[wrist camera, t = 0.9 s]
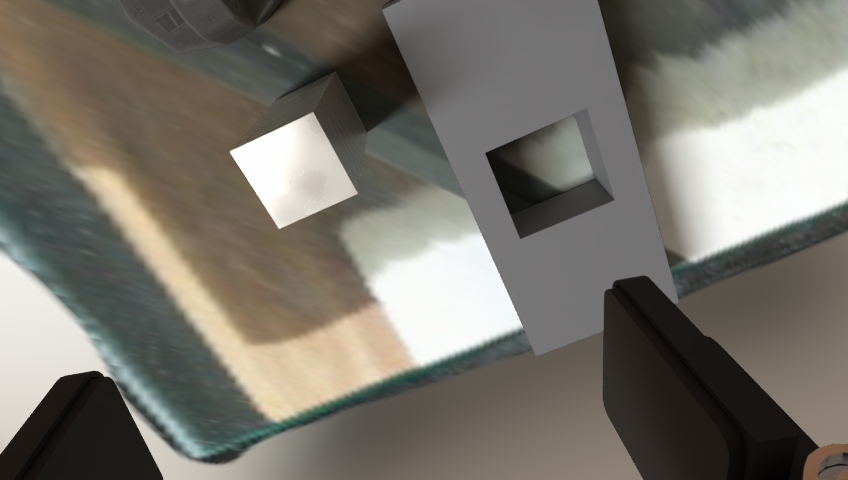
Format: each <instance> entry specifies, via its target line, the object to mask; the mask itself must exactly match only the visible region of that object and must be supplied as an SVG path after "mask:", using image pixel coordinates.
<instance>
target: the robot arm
mask: <svg viewBox="0 0 848 480" xmlns="http://www.w3.org/2000/svg"><path fill="white" fill-rule="evenodd" d="M603 343H604V344H603V401H604V406H605V410H606V412H607V415H608V417H609V419H610V420H611V422H612V424H613V426H614V428H615V429H616V431H617V433H618V435H619V436H620V438H621V440H622V442H623V444H624V445H625V447H626V449H627V451H628V453H629V454H630V456H631V458H632V460H633V462H634V463H635V465H636V467H637V469H638V470H639V472H640V474H641V476H642V478H643V480H848V444H831V445H827V446H823V447H820V448H819V447H818V446H817V445H816V444H815V443H814V442H813V440H811V438H810V437H809V436H808V435H806V433H805V432H804V431H803V430H802V429H801V428H800V427H799V426H798V425H797V424H796V423H795V422H794V421H793V420H792V419H791V418H790V417H789V416H788V415H787V414H786V413H785V412H784V411H783V410H782V409H781V407H780V406H779V405H777V403H776V402H775V401H774V400H773V399H772V398H771V397H770V396H769V395H768V394H767V393H766V392H765V391H764V390H763V389H762V388H761V387H760V386H759V385H758V384H757V383H756V382H755V381H754V380H753V379H752V378H751V377H750V376H749V375H748V374H747V372H745V371H744V369H742V367H741V366H740V365H739V364H738V363H737V362H736V361H735V360H734V359H733V358H732V357H731V356H730V355H729V354H728V353H727V352H726V351H725V350H724V349H723V348H722V347H721V346H720V345H719V344H718V343H717V342H716V341H715V340H713V339H712V338H711V337H707V336H704V335H703V334H702V333H701V332H700V331H699V329H698V328H697V327H696V326H695V325H694V324H693V323H692V322H691V321H690V320H689V319H688V318H687V317H686V316H685V315H684V314H683V313H682V312H681V311H680V310H679V309H678V308H677V307H676V305H675V304H674V303H673V302H672V301H671V300H670V299H669V298H668V297H667V296H666V295H665V294H664V293H663V292H662V291H661V290H660V289H659V287H658V286H657V285H656V284H655V283H654V282H653V281H652V280H651V279H650V278H649V277H647V276H644V275H643V276H637V277H631V278H625V279H620V280H616V281H614V283H613V285H612V289H607V290H606V291H605V293H604V336H603ZM0 480H163V477H162V474H161V472H160V470H159V468H158V467H157V464H156V462H155V461H154V459H153V457H152V455H151V453H150V451H149V449H148V447H147V445H146V443H145V441H144V439H143V437H142V435H141V433H140V431H139V429H138V428H137V425H136V423H135V421H134V420H133V418H132V416H131V414H130V412H129V410H128V408H127V406H126V404H125V402H124V400H123V398H122V396H121V394H120V392H119V390H118V388H117V386H116V384H115V383H114V381H113V380H112V379H111V378H110V377H104V376H103V374H101V373H100V372H98V371H90V372H84V373H79V374H73V375H67V376H64V377H61V378H60V379H59V380H58V381H57V382H56V383H55V384H54V385H53V387H52V388H51V389H50V391H49V392H48V393H47V394H46V396H45V397H44V398H43V400H42V401H41V402H40V404H39V405H38V406H37V407H36V409H35V410H34V411H33V413H32V414H31V415H30V417H29V418H28V419H27V421H26V422H25V423H24V424H23V426H22V427H21V428H20V430H19V431H18V432H17V433H16V435H15V436H14V438H13V439H12V440H11V441H10V443H9V444H8V445H7V447H6V448H5V449H4V450H3V452H2V453H1V454H0Z"/></svg>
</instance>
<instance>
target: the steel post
mask: <svg viewBox="0 0 848 480" xmlns="http://www.w3.org/2000/svg"><path fill="white" fill-rule="evenodd" d="M366 137H367V131H366V129H365V127H364V125H363V123H362V121H361V119H360V117H359V115H358V113H357V111H356V109H355V107H354V105H353V103H352V101H351V100H350V98H349V96H348V94H347V92H346V90H345V88H344V86H343V84H342V82H341V80H340V78H339V76H338V74H337V72H336V71H335V72H333V73H330V74H328V75H326V76H324V77H322V78H320V79H318V80H316V81H314V82H312V83H310V84H308V85H306V86H304V87H302V88H299V89H297V90H295V91H293V92H291V93H289V94H287V95H285V96H283V97H281V98H279V99H277V100H275V101H274V102H273V104H272V105H271V106H270V107H269V108H268V109H267V110H266V111H265V113H264V114H263V115H262V116H261V117H260V118H259V119H258V121H257V122H256V123H255V124H254V125H253V126H252V127H251V128H250V130H249V131H248V132H247V133H246V134H245V135H244V136H243V137H242V139H241V140H240V141H239V142H238V143H237V144H236V145H235V147H234V148H233V149H232V150H231V151H230V153H231V154H232V156H233V157H234V159H235V160H236V162H237V164H238V165H239V167H240V168H241V170H242V171H243V173H244V174H245V176H246V178H247V179H248V181H249V182H250V184H251V185H252V187H253V188H254V190H255V192H256V193H257V195H258V196H259V198H260V199H261V201H262V202H263V204H264V206H265V207H266V209H267V210H268V212H269V213H270V215H271V216H272V218H273V220H274V221H275V223H276V224H277V226H278V227H279V229H280V228H282V227H284V226H286V225H289V224H291V223H293V222H295V221H298V220H300V219H302V218H304V217H307V216H309V215H311V214H313V213H316V212H318V211H320V210H322V209H325V208H327V207H329V206H331V205H334V204H336V203H338V202H340V201H343V200H345V199H347V198H349V197H352V196H354V195H356V194H358V189H359V183H360V176H361V170H362V163H363V157H364V150H365V144H366Z"/></svg>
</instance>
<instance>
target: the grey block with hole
mask: <svg viewBox="0 0 848 480" xmlns="http://www.w3.org/2000/svg"><path fill="white" fill-rule="evenodd" d="M382 11H383V14H384V16H385V18H386V20H387V23H388V25H389V27H390V29H391V32H392V34H393V36H394V38H395V41H396V43H397V45H398V47H399V50H400V52H401V54H402V56H403V59H404V61H405V63H406V65H407V68H408V70H409V72H410V74H411V76H412V79H413V81H414V83H415V85H416V88H417V90H418V92H419V94H420V97H421V99H422V101H423V103H424V106H425V108H426V110H427V112H428V115H429V117H430V119H431V121H432V124H433V126H434V128H435V130H436V133H437V135H438V137H439V139H440V142H441V144H442V146H443V148H444V150H445V153H446V155H447V157H448V159H449V162H450V164H451V166H452V168H453V171H454V173H455V175H456V177H457V180H458V182H459V184H460V186H461V189H462V191H463V193H464V195H465V198H466V200H467V202H468V204H469V207H470V209H471V211H472V213H473V216H474V218H475V220H476V222H477V225H478V227H479V229H480V231H481V233H482V236H483V238H484V240H485V242H486V245H487V247H488V249H489V251H490V254H491V256H492V258H493V260H494V263H495V265H496V267H497V269H498V272H499V274H500V276H501V278H502V281H503V283H504V285H505V287H506V290H507V292H508V294H509V296H510V299H511V301H512V303H513V305H514V307H515V310H516V312H517V314H518V316H519V319H520V321H521V323H522V325H523V328H524V330H525V332H526V334H527V337H528V339H529V341H530V343H531V346H532V348H533V350H534V352H535V355H536V356H538V355H541V354H543V353H546V352H548V351H551V350H554V349H557V348H559V347H562V346H564V345H567V344H570V343H572V342H575V341H578V340H580V339H583V338H586V337H588V336H591V335H594V334H596V333H599V332H602V331H604V293H605V291H606V290H607V289H612V285H613V283H614V281H616V280H620V279H625V278H631V277H637V276H643V275H644V276H647V277H649V278H650V279H651V280H652V281H653V282H654V283H655V284H656V285H657V286H658V287H659V289H660V290H661V291H662V292H663V293H664V294H665V295H666V296H667V297H668V298H669V299H670V300H671V301H672V302H673V303H674V304H676V303H678V302H679V301H678V297H677V294H676V290H675V286H674V282H673V279H672V275H671V271H670V268H669V264H668V260H667V256H666V253H665V249H664V245H663V242H662V238H661V234H660V230H659V227H658V223H657V219H656V215H655V212H654V208H653V204H652V201H651V197H650V193H649V189H648V186H647V182H646V178H645V175H644V171H643V167H642V163H641V160H640V156H639V152H638V149H637V145H636V141H635V137H634V134H633V130H632V126H631V123H630V119H629V115H628V111H627V108H626V104H625V100H624V97H623V93H622V89H621V85H620V82H619V78H618V74H617V71H616V67H615V63H614V59H613V56H612V52H611V48H610V44H609V41H608V37H607V33H606V30H605V26H604V22H603V18H602V15H601V11H600V7H599V4H598V0H393V1H391V2H389V3H387V4H385V5H383V8H382ZM572 114H575V117H576V121H577V124H578V127H579V130H580V133H581V136H582V139H583V143H584V146H585V149H586V152H587V155H588V158H589V162H590V165H591V168H592V171H593V174H594V177H595V180H593V181H590V182H588V183H586V184H583V185H581V186H578V187H576V188H574V189H571V190H569V191H567V192H564V193H562V194H559V195H557V196H555V197H552V198H550V199H548V200H545V201H543V202H540V203H538V204H536V205H533V206H531V207H528V208H526V209H524V210H521V211H519V212H517V213H514V214H512V215H510V213H509V211H508V208H507V206H506V203H505V201H504V199H503V196H502V194H501V191H500V189H499V186H498V184H497V181H496V179H495V177H494V174H493V172H492V169H491V167H490V164H489V162H488V159H487V157H486V155H485V153H486V152H488V151H490V150H493V149H495V148H497V147H500V146H502V145H504V144H506V143H509V142H511V141H513V140H515V139H518V138H520V137H522V136H525V135H527V134H529V133H531V132H534V131H536V130H538V129H540V128H543V127H545V126H547V125H550V124H552V123H554V122H556V121H559V120H561V119H563V118H565V117H568V116H570V115H572Z"/></svg>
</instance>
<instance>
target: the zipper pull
mask: <svg viewBox="0 0 848 480" xmlns="http://www.w3.org/2000/svg"><path fill="white" fill-rule="evenodd" d="M280 1H281V0H118V2H119V4H120V5H121V7H122V9H123V10H124V12H125V14H126V15H127V17H128V18H129V20H131V21H132V22H133V23H134V24H136V25H137V26H139V27H140V28H142V29H143V30H144V31H146V32H147V33H149V34H150V35H151V36H153V37H154V38H156V39H157V40H159V41H160V42H161V43H163V44H164V45H166V46H167V47H168V48H170V49H171V50H173V51H174V52H176V53H178V54H182V53H187V52H192V51H197V50H202V49H208V48H213V47H218V46H224V45H228V44H229V43H231V42H234V41H235V40H237V39H239V38H240V37H242V36H243V35H245V34H247V33H248V32H250V31H251V30H253V29H255V28H256V27H258V26H259V25H261V24H263V23H264V22H266V20H267V19H268V18H269V16H270V15H271V13H272V12H273V11H274V9H275V8H276V7H277V5H278V4H279V3H280Z"/></svg>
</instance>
